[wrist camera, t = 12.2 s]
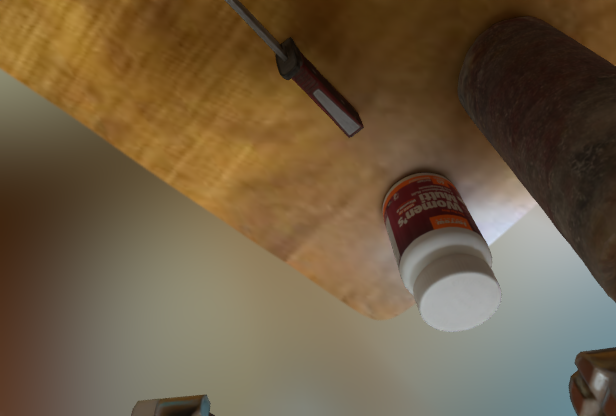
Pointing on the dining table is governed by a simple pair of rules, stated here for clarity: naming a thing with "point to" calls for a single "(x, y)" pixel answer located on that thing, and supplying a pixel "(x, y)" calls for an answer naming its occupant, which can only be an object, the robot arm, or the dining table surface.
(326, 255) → the dining table surface
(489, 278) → the pill bottle
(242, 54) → the dining table surface
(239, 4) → the knife
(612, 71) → the candle
